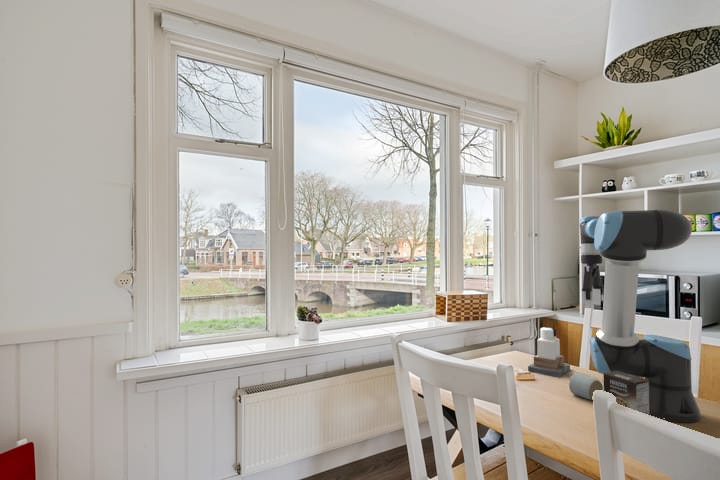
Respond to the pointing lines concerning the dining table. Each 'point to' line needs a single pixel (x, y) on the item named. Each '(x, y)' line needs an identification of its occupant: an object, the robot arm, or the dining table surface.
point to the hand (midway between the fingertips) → (593, 306)
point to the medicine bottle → (548, 343)
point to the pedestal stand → (549, 366)
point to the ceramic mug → (584, 385)
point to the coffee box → (628, 390)
